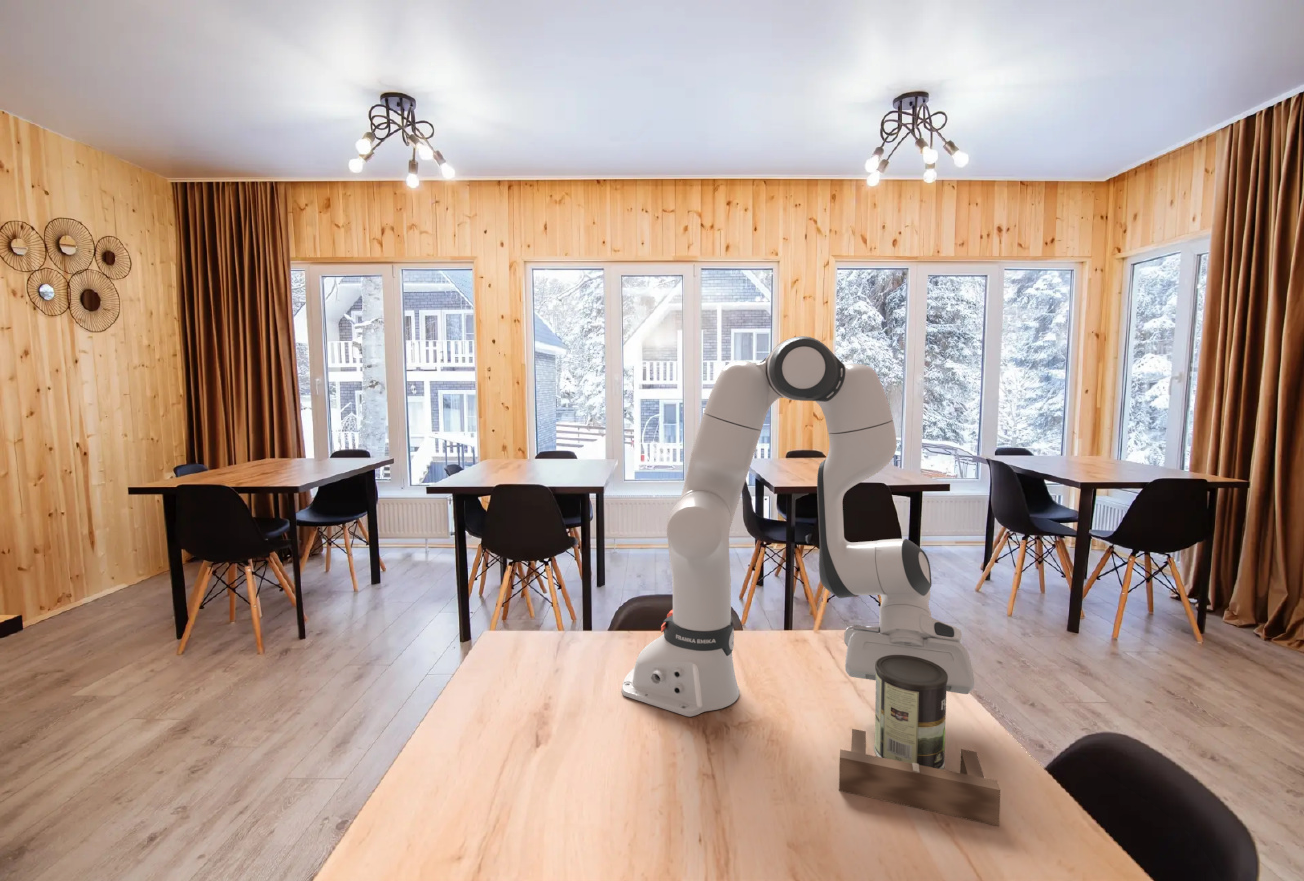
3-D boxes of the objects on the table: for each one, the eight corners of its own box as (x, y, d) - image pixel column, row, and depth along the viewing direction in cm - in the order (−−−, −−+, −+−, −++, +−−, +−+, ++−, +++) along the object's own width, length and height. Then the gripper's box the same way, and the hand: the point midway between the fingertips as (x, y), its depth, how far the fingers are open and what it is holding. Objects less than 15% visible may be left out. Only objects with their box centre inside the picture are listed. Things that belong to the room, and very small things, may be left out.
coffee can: (937, 741, 94) (939, 657, 92) (952, 782, 84) (955, 689, 83) (870, 731, 96) (872, 650, 95) (876, 770, 86) (878, 680, 85)
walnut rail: (839, 790, 82) (839, 756, 82) (841, 757, 90) (841, 725, 89) (999, 826, 75) (1000, 788, 75) (987, 787, 82) (988, 752, 82)
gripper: (844, 616, 104) (841, 694, 96) (971, 630, 97) (980, 716, 89) (844, 630, 109) (842, 705, 101) (966, 645, 102) (974, 728, 93)
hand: (908, 711), depth 95 cm, fingers closed, pressing on coffee can
